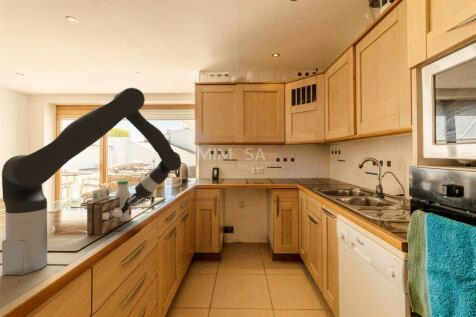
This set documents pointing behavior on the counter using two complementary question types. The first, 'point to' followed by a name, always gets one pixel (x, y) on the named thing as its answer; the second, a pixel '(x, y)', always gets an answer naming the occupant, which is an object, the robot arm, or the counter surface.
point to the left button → (105, 216)
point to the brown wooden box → (95, 215)
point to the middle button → (115, 213)
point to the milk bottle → (124, 199)
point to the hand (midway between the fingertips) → (122, 211)
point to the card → (100, 194)
